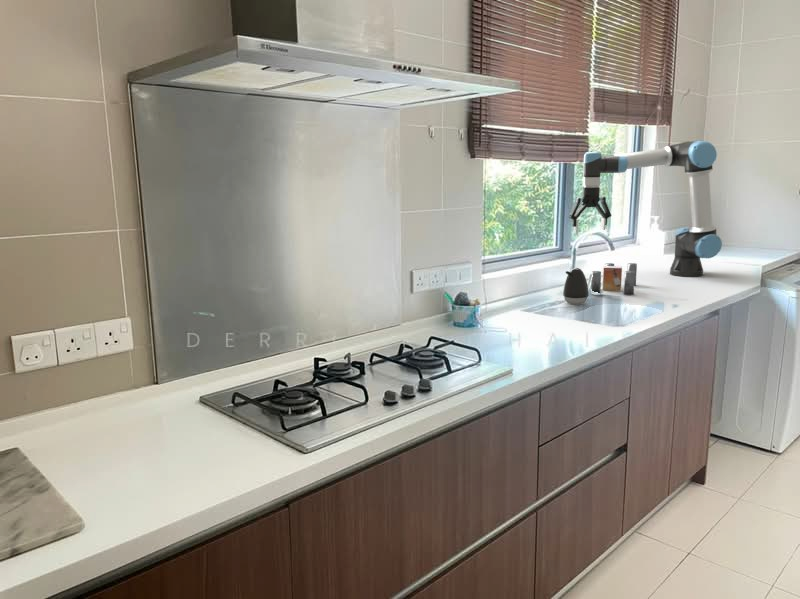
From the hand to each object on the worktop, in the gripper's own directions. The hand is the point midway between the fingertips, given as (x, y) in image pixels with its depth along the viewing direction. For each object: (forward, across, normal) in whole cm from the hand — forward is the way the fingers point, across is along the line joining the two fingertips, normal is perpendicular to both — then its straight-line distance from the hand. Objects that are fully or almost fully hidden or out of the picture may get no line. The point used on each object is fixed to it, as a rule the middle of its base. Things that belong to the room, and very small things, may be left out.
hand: (589, 233), depth 296 cm
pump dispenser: (+25, +22, +32) cm, 46 cm away
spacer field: (+24, -7, +13) cm, 28 cm away
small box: (+25, -6, +12) cm, 28 cm away
